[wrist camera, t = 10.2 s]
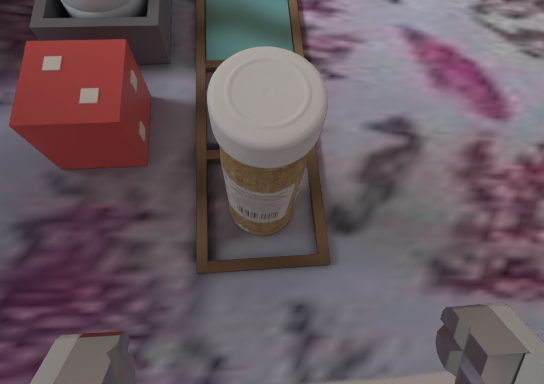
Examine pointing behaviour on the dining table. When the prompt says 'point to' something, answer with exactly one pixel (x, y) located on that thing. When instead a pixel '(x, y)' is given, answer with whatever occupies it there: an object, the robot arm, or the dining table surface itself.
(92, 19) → the dome housing
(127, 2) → the dome
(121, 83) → the red die
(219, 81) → the sprinkles bottle
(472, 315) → the robot arm
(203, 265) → the wooden frame
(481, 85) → the dining table surface
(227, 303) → the dining table surface
